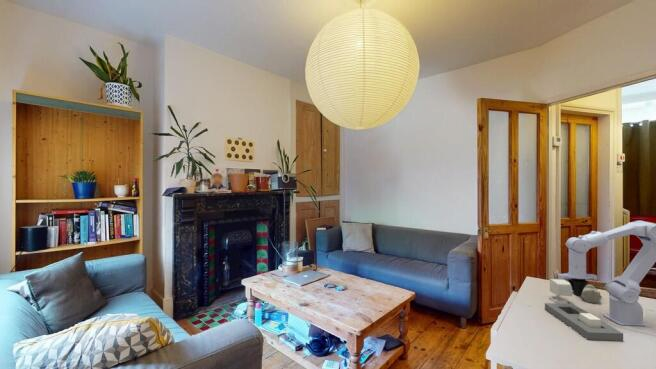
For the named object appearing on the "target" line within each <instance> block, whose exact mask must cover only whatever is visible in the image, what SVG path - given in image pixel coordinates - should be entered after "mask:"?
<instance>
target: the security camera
mask: <svg viewBox="0 0 656 369" xmlns="http://www.w3.org/2000/svg"><path fill="white" fill-rule="evenodd" d="M549 291H550V292H551V293H552V294H554V295H549V296H548V299H549V300H550V301H552V302H553V303H559V304H569V302H568V299H565V298H564V297H565V296H566V297H572V296H573V290H572V286H571V284H570V283H569V281H568V280H567V279H564V280H561V279H559V278H558V279H557V278H555V279H554V278H550V279H549Z"/></svg>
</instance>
